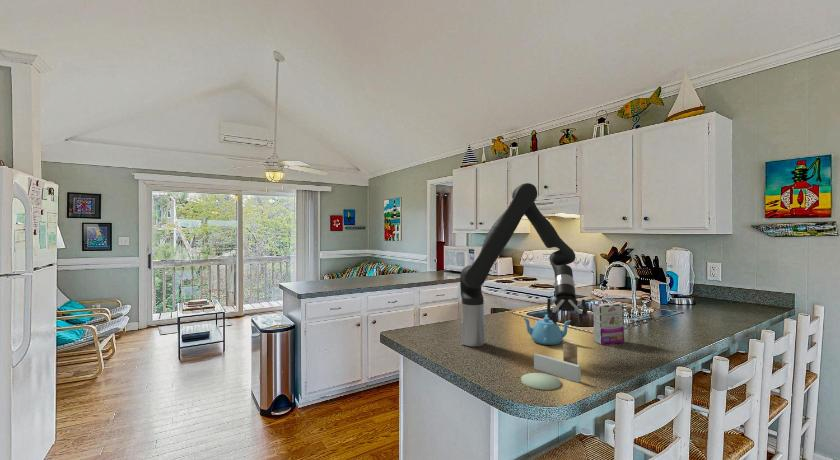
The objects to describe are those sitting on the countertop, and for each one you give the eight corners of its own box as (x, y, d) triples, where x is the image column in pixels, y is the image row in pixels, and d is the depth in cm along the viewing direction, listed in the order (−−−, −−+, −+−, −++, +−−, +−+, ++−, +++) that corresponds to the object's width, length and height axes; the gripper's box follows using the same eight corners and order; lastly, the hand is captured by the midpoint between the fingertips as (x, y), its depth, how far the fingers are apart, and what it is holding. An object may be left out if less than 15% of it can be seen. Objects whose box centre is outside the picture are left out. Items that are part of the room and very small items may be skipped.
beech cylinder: (564, 370, 127) (563, 346, 128) (563, 365, 132) (562, 342, 132) (578, 371, 126) (577, 347, 126) (576, 366, 130) (576, 343, 130)
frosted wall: (534, 368, 129) (533, 354, 129) (536, 367, 130) (536, 353, 130) (578, 382, 117) (578, 366, 117) (580, 381, 118) (580, 365, 118)
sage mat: (520, 387, 114) (520, 385, 114) (521, 373, 125) (521, 371, 125) (562, 392, 110) (562, 389, 110) (559, 376, 122) (559, 375, 122)
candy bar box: (616, 339, 162) (615, 302, 162) (624, 343, 157) (623, 304, 157) (593, 341, 159) (592, 303, 159) (601, 345, 154) (600, 305, 154)
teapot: (545, 348, 151) (544, 323, 151) (520, 339, 165) (520, 316, 165) (572, 344, 157) (571, 319, 157) (546, 335, 171) (546, 312, 171)
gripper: (546, 282, 149) (547, 317, 138) (584, 283, 145) (589, 319, 134) (546, 293, 154) (547, 328, 143) (583, 294, 150) (587, 330, 139)
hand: (567, 323), depth 138 cm, fingers open, 8 cm apart
